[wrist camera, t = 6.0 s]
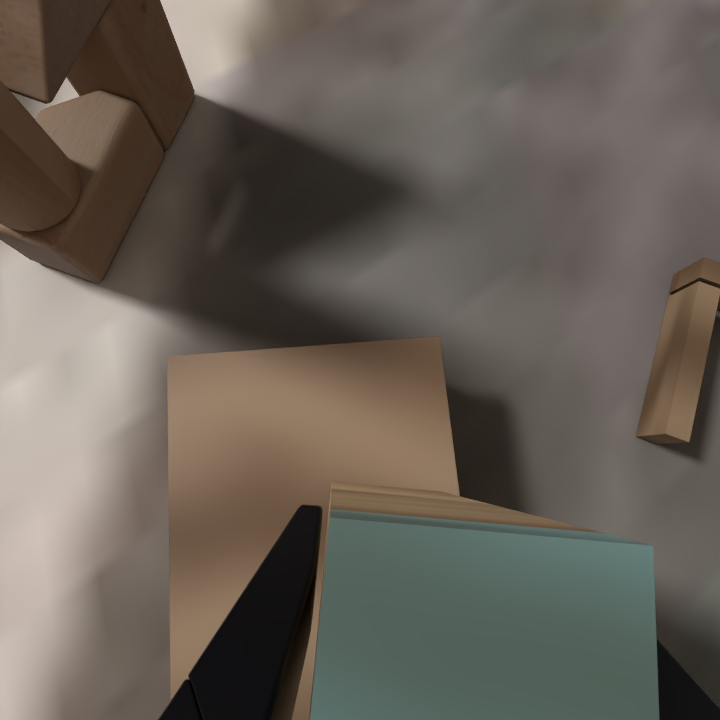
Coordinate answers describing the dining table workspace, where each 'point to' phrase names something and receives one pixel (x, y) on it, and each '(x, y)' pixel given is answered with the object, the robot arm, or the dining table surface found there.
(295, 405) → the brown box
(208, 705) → the robot arm
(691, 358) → the frame
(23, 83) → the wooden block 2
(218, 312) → the dining table surface
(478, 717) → the teal long block
